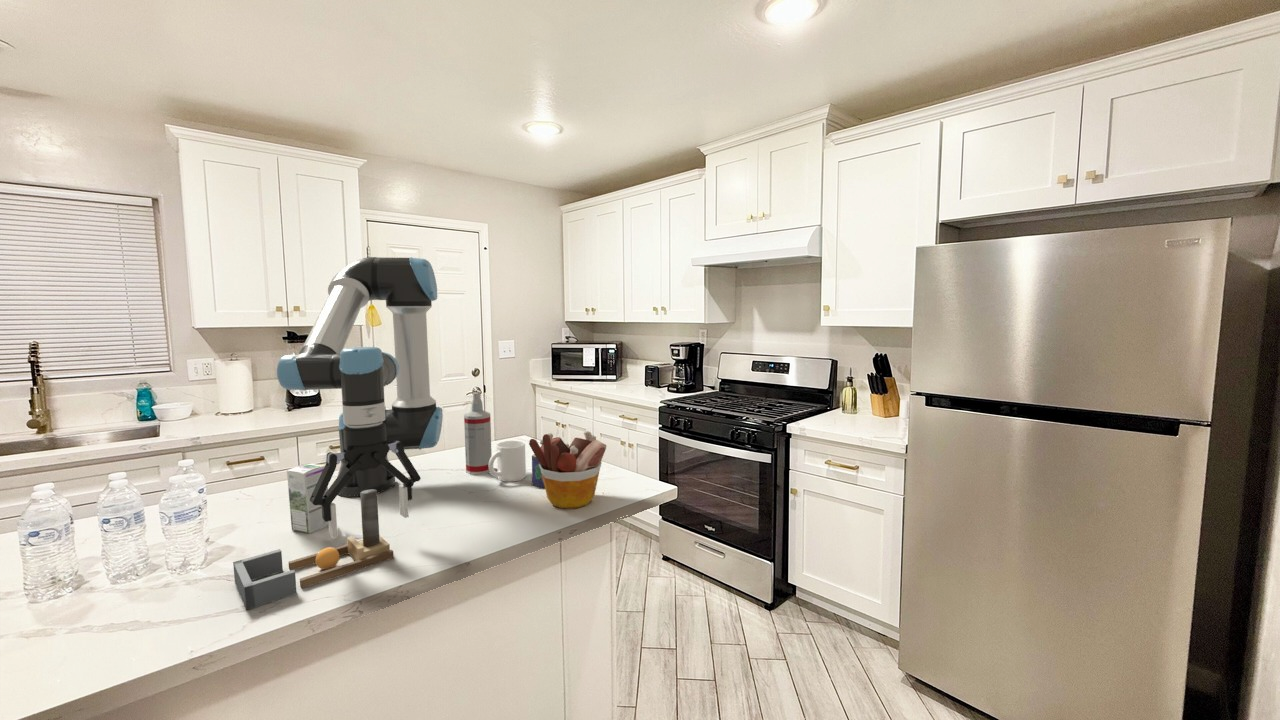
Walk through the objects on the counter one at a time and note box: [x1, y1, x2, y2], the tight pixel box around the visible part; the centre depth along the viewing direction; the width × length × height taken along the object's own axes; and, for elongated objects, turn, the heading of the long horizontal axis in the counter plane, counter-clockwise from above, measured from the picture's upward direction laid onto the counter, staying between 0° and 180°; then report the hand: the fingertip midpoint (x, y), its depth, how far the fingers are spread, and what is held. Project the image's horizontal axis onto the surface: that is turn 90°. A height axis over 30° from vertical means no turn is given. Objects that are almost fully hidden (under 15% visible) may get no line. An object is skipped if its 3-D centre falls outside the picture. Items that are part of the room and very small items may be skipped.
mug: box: [489, 440, 527, 483], centre depth 152 cm, size 12×8×10 cm
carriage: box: [346, 489, 391, 561], centre depth 104 cm, size 7×6×13 cm
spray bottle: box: [463, 392, 493, 476], centre depth 159 cm, size 8×8×25 cm
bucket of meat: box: [528, 430, 607, 510], centre depth 133 cm, size 20×16×20 cm
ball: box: [315, 547, 340, 570], centre depth 100 cm, size 4×4×4 cm
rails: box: [288, 544, 395, 589], centre depth 102 cm, size 10×16×2 cm, turn 135°
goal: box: [232, 548, 297, 611], centre depth 92 cm, size 12×7×4 cm, turn 45°
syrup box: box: [286, 463, 329, 534], centre depth 118 cm, size 6×6×14 cm
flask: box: [531, 453, 545, 490], centre depth 145 cm, size 9×3×11 cm, turn 61°
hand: (370, 525), depth 105 cm, fingers open, 13 cm apart
